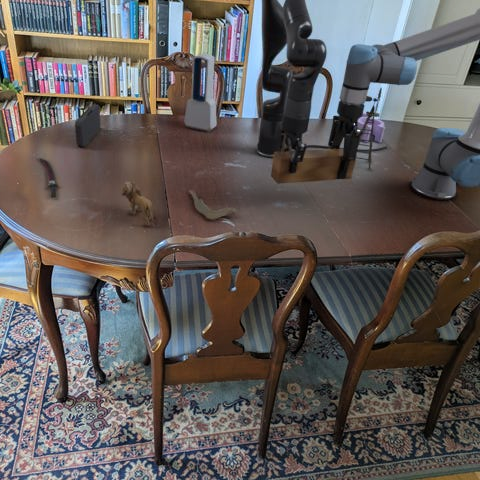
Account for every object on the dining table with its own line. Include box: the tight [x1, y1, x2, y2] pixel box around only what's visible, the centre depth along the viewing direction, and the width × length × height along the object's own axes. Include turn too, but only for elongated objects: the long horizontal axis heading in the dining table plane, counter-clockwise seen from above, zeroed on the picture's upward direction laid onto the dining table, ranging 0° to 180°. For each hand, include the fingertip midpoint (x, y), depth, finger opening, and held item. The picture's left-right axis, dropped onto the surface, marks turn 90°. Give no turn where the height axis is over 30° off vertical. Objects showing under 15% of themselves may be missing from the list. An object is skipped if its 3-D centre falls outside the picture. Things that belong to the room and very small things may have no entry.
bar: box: [270, 148, 358, 185], centre depth 144 cm, size 26×6×8 cm, turn 109°
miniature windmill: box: [356, 86, 383, 170], centre depth 177 cm, size 9×8×30 cm
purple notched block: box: [357, 112, 386, 143], centre depth 214 cm, size 20×12×7 cm, turn 11°
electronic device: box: [183, 53, 218, 133], centre depth 195 cm, size 12×8×30 cm, turn 71°
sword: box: [40, 158, 59, 198], centre depth 151 cm, size 31×3×1 cm, turn 26°
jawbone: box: [188, 189, 239, 221], centre depth 143 cm, size 9×20×2 cm, turn 50°
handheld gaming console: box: [74, 103, 101, 148], centre depth 180 cm, size 23×3×10 cm, turn 178°
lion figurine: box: [119, 181, 159, 227], centre depth 134 cm, size 15×5×9 cm, turn 50°
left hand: (288, 168), depth 142 cm, fingers closed on bar, 5 cm apart
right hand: (336, 174), depth 149 cm, fingers closed on bar, 5 cm apart
